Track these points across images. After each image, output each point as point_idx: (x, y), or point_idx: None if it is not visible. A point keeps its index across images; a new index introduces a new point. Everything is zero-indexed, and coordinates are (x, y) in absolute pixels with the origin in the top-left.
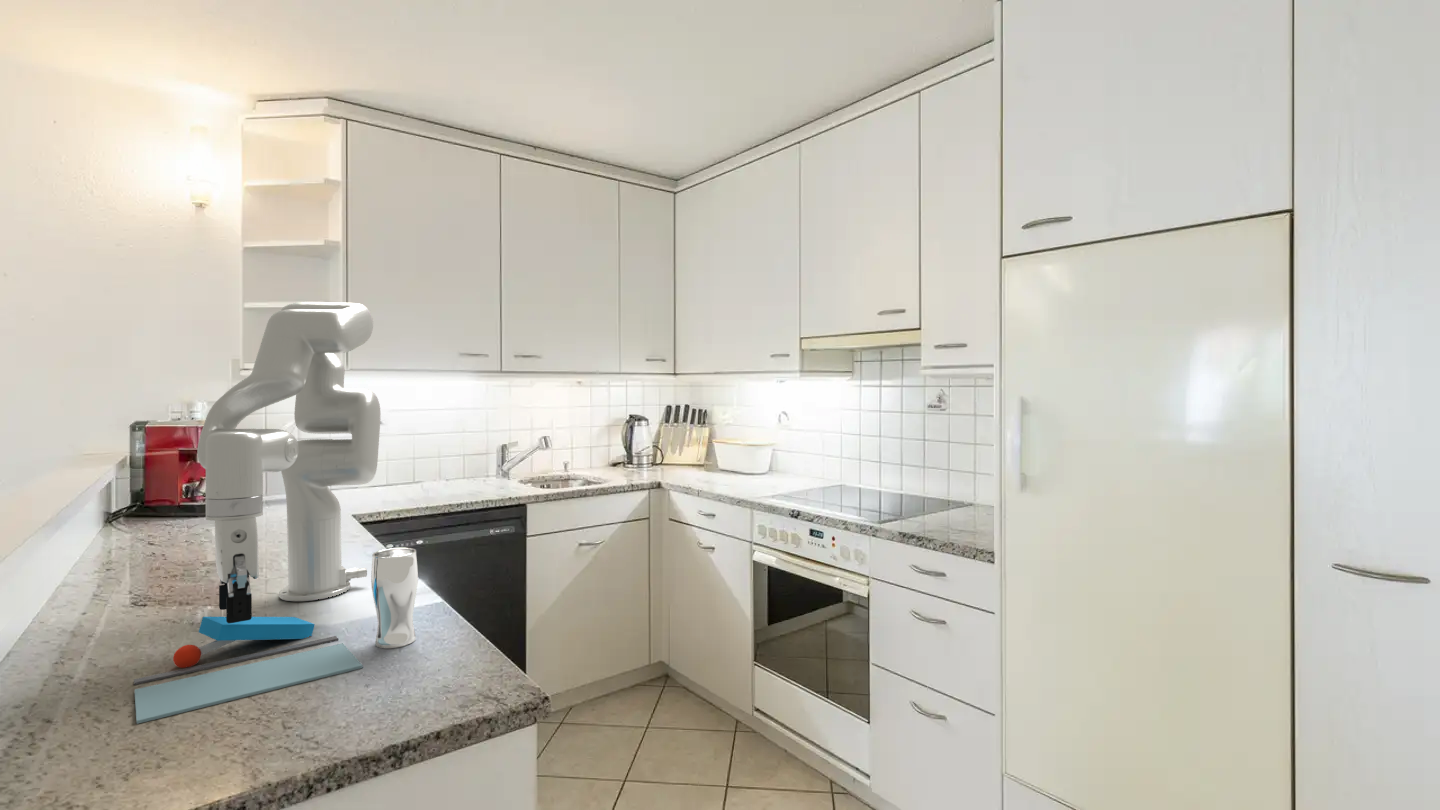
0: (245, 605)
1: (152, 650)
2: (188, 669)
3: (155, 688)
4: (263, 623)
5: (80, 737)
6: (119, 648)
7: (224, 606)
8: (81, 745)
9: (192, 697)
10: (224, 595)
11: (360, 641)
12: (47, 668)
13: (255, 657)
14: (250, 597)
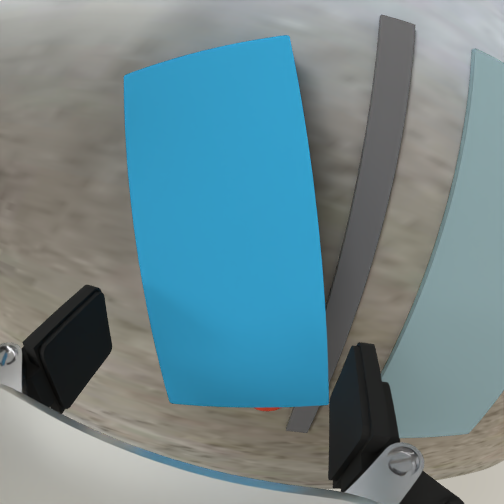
0: (392, 415)
1: (112, 366)
2: None
3: None
4: (298, 250)
5: (437, 459)
6: None
7: (105, 345)
8: (457, 456)
9: (474, 391)
10: (83, 375)
11: (468, 3)
12: (123, 440)
13: (370, 260)
14: (385, 424)
